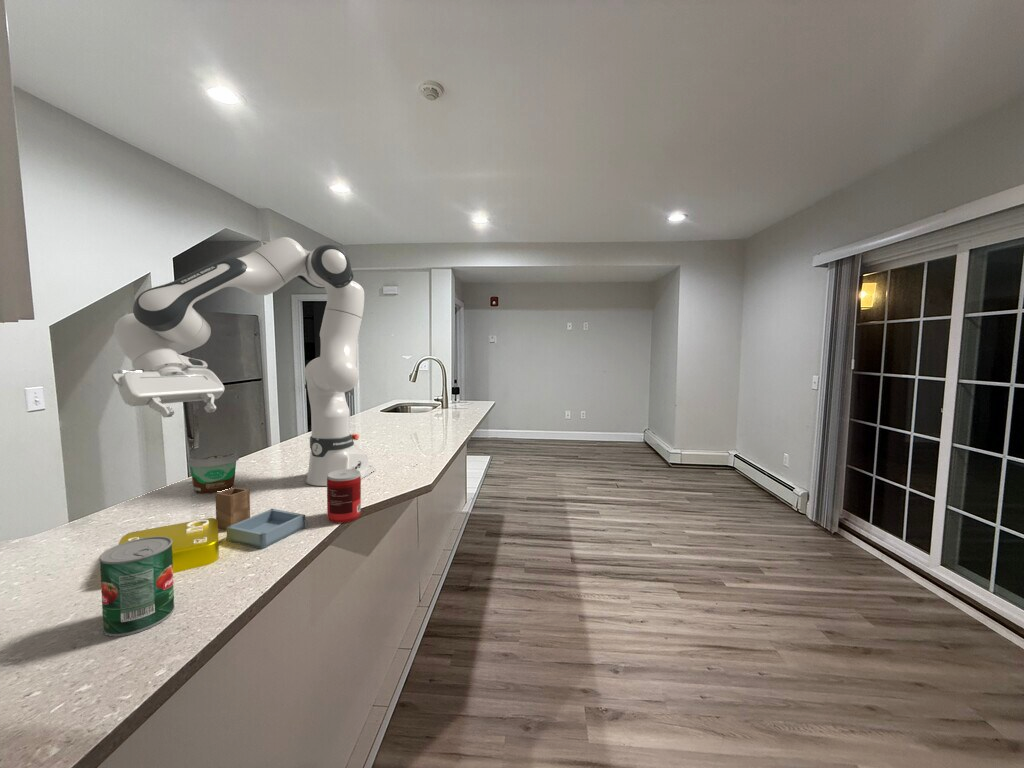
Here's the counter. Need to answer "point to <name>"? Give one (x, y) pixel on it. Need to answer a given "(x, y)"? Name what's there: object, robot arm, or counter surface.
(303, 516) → the slate tray
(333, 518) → the canned food
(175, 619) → the counter surface
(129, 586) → the canned tomato
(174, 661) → the counter surface
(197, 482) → the food container
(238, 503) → the walnut tube
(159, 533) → the element tile
